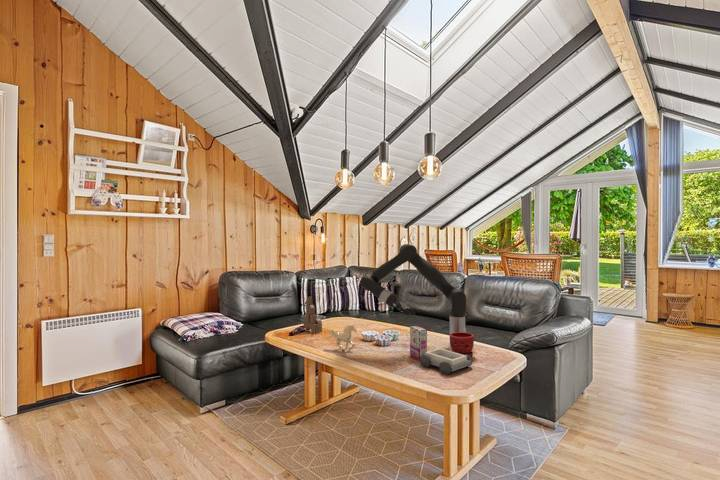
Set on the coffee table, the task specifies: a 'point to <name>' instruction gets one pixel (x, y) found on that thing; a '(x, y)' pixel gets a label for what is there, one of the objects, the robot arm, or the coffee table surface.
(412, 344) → the candy bar box
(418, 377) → the coffee table surface
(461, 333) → the plant pot
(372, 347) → the coffee table surface
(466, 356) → the toy car chassis
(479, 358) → the coffee table surface
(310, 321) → the wooden toy
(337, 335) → the unicorn
